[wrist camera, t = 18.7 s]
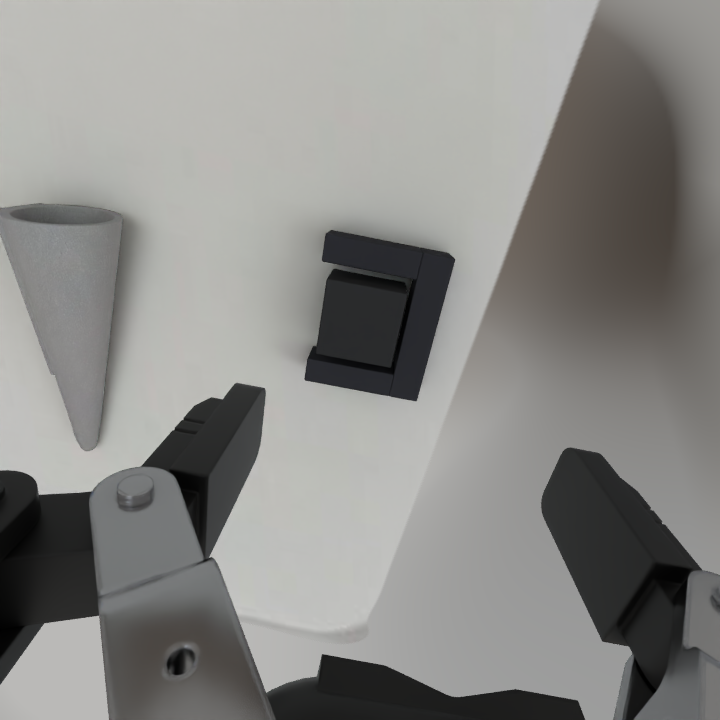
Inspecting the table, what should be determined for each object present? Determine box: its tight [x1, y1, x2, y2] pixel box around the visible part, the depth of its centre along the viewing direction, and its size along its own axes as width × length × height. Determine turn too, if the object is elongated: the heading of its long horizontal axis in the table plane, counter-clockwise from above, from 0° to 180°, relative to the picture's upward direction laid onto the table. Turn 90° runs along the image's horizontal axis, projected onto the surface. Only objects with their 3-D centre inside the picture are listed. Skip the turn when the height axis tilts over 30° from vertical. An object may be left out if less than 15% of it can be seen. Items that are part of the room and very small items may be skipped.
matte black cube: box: [316, 269, 408, 368], centre depth 27 cm, size 5×5×4 cm
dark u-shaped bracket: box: [305, 230, 455, 401], centre depth 28 cm, size 10×8×2 cm
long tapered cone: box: [0, 203, 123, 451], centre depth 29 cm, size 6×6×19 cm
